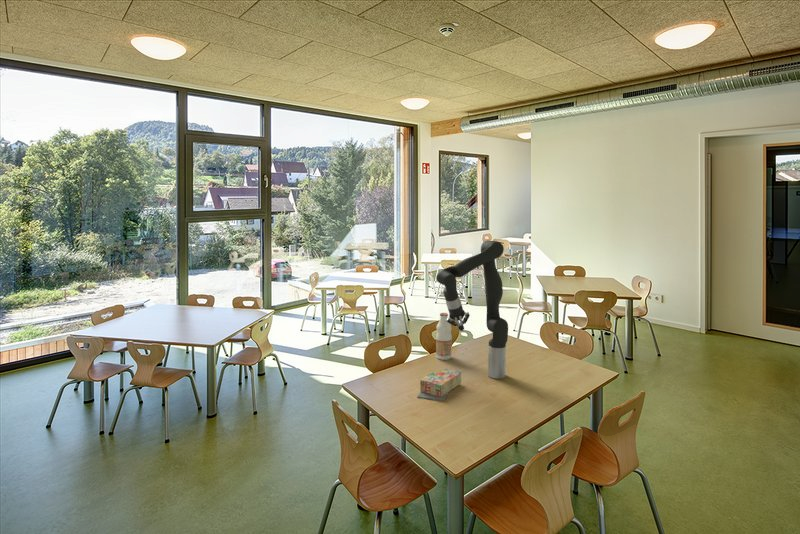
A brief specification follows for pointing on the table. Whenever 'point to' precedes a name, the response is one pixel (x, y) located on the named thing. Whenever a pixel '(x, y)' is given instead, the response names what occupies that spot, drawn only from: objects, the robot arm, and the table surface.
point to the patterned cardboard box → (440, 382)
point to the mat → (431, 396)
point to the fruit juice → (443, 338)
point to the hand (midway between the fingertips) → (461, 329)
